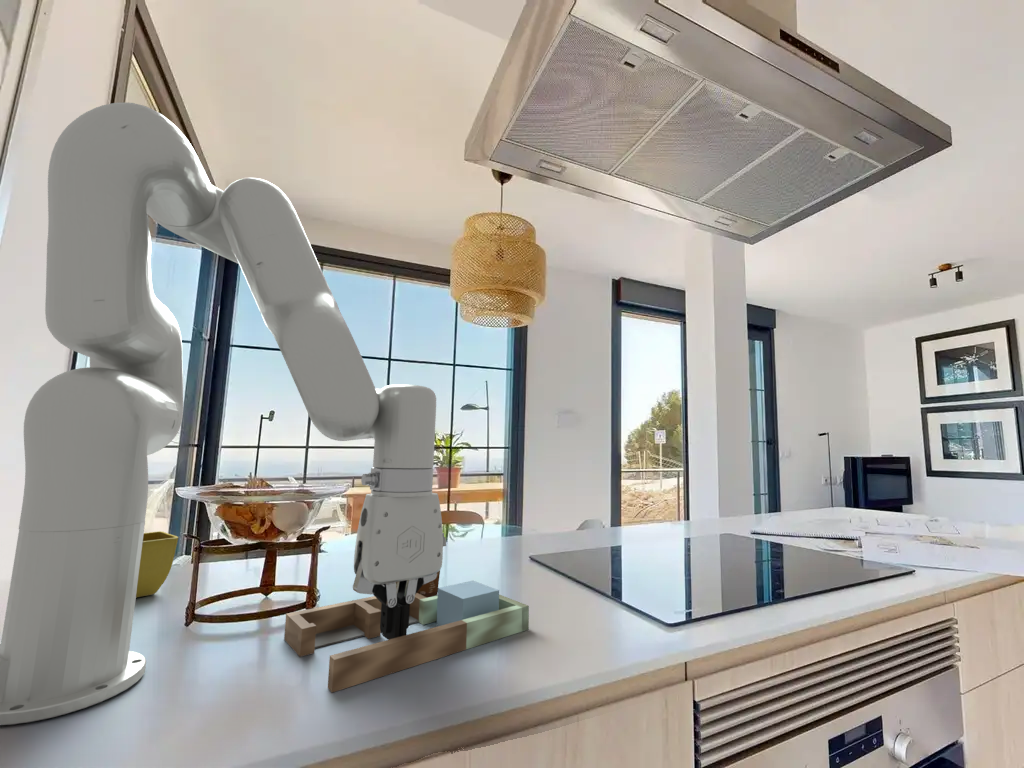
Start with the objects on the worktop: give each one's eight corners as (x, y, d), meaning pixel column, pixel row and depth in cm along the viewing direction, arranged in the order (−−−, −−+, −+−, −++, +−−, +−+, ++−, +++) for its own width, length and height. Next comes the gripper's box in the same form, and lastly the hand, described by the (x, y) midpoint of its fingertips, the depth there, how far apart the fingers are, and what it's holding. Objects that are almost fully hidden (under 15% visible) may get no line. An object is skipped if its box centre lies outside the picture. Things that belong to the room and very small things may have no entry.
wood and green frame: (331, 692, 45) (334, 659, 46) (284, 639, 58) (286, 613, 58) (528, 629, 62) (528, 605, 63) (458, 598, 75) (459, 579, 75)
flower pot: (102, 609, 68) (110, 545, 69) (87, 597, 73) (95, 537, 74) (173, 594, 75) (179, 536, 76) (155, 584, 80) (161, 530, 81)
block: (461, 640, 59) (463, 598, 59) (436, 626, 63) (437, 588, 64) (498, 629, 63) (499, 590, 63) (472, 616, 67) (472, 580, 68)
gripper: (357, 486, 51) (344, 666, 48) (468, 483, 61) (462, 632, 58) (332, 482, 57) (319, 643, 54) (437, 479, 66) (431, 616, 64)
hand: (393, 637), depth 56 cm, fingers closed
